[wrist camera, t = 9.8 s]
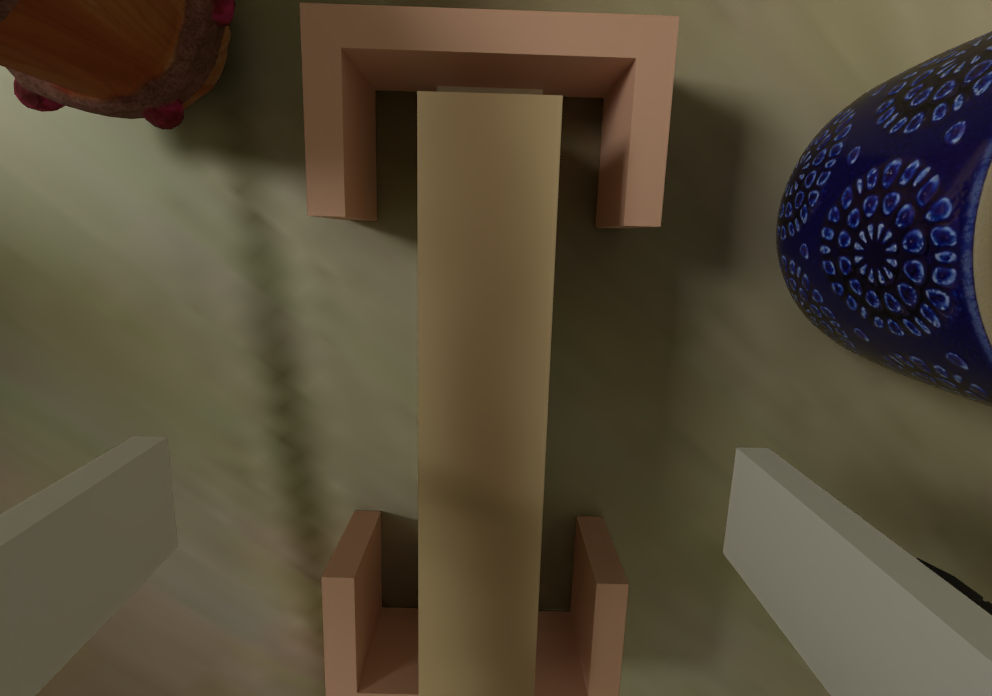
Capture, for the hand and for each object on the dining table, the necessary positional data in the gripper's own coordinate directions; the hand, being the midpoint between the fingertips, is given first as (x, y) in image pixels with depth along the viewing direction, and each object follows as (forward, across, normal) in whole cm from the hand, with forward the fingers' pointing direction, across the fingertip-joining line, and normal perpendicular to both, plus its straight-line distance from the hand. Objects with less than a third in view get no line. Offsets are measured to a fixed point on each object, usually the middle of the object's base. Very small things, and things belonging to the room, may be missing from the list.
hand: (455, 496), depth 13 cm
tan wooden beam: (+10, +1, 0) cm, 10 cm away
